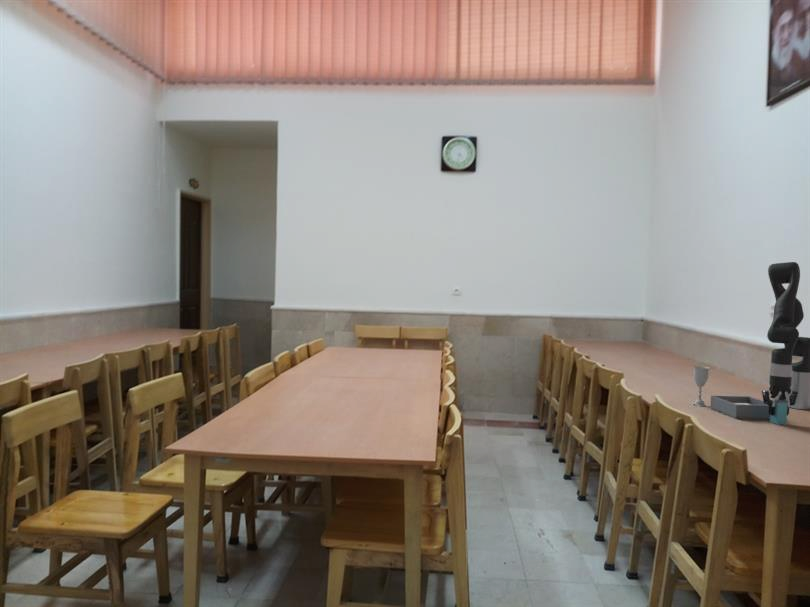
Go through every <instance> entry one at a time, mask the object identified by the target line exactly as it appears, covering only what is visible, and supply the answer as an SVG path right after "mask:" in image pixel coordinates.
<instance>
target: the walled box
mask: <svg viewBox="0 0 810 607" xmlns="http://www.w3.org/2000/svg"><path fill="white" fill-rule="evenodd" d="M709 407H710V408H711V409H710V410H712V409H713V411H715V410H716V411H715V412H717V411H718V413H720V414H722V413H723V415H725V416H727V415H728V417H730V418H732V417H733V418H732V419H735V420H770V414H769V412H768V410H769V406H768V405H767V404H764V401H763V399H762V400H761V399H758V398H756V397H752V396H748V395H747V396H745V395H710V406H709Z"/></svg>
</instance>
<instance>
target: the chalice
mask: <svg viewBox="0 0 810 607" xmlns="http://www.w3.org/2000/svg"><path fill="white" fill-rule="evenodd" d="M692 368H693V374H692V376H693V380H694V382H695V385H696V386H697V387H698V390H697V391H698V393H697V397H698V398H697V399H695V400H694V403H693V404H695V405H694V406H696V405H700V406H699V407H706V405H705V401H704V400H703V399H702V395H703V394H702V391H703V390H702V387H705V385H706V384H707V381H708V380H709V370H710V366H704V365H703V366H702V365H692Z"/></svg>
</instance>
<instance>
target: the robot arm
mask: <svg viewBox="0 0 810 607" xmlns="http://www.w3.org/2000/svg"><path fill="white" fill-rule="evenodd" d="M767 274H768V279H769V281H770V282H769V283H770V285H771V288H772V291H773V294H774V297H775V303H774V306H773V318H772V321H771V324H770V327H769V329H768V330H767V334H766V335H767V336H766V338H767V340H768V341H769V342H770V343H774V344H783V345H784V347H783V348H774V349H772V350H771V359H770V367H769V383H768V384H769V387H768V389H766V390H765V389H762V390H761V395H762V401H764V404H767V405H768V406H769V410H768V412H769V414H770V415H772V416H774V415H775V407H774V406H775V404H776V402H777V400H778V399H784V400H788V404H787V416H788V415H790V407H791V409H797V410H810V337H809V336H807V337H805V336H800V332H799V330H798V328H797V327H799V325H800V324H801V323H802V321H803V319H804V317H805V316H804V315H805V314H804V309H803V304H802V302H801V301H800V300H799V299H798V297H797V294H798V290H799V284H800V279H801V270H800V265H799V263H797V262H796V261H790V262H789V261H788V262H787V261H786V262H778V263H771V264H770V265H769V266H768V268H767ZM785 284H786V285H787V288H786V287H784V285H785ZM793 357H802V360H800V361H797V362H793ZM773 398H775V399H773Z"/></svg>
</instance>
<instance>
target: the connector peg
mask: <svg viewBox="0 0 810 607" xmlns="http://www.w3.org/2000/svg"><path fill="white" fill-rule="evenodd" d="M773 399H775V398H773ZM787 404H788V400H784V399H778V400H777V402H776V404H775V406H774V407H775V415H774V416H772V415H770V419H769V422H770V421H771V422H774V423H776V424H775V425H777V424H786V425H787V420H788V417H787ZM771 422H770V423H771ZM774 423H773V424H774Z"/></svg>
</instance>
